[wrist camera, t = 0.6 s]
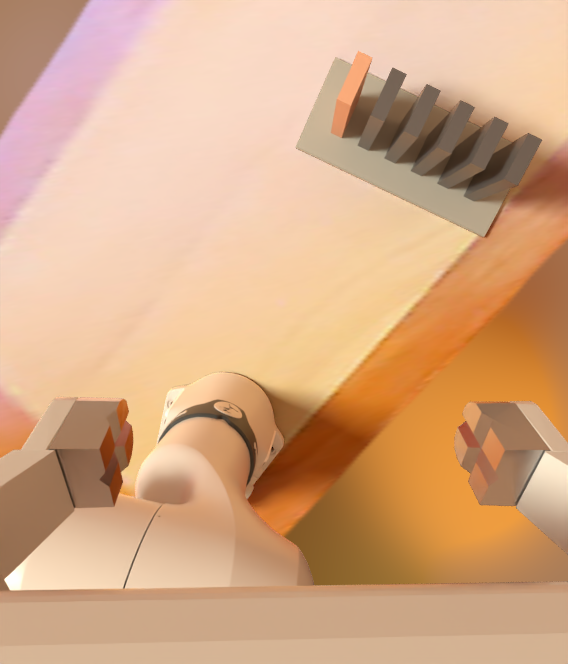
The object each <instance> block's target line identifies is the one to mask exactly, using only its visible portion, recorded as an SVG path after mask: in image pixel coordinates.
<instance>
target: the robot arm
mask: <svg viewBox="0 0 568 664" xmlns="http://www.w3.org/2000/svg"><path fill="white" fill-rule="evenodd" d="M172 401H173V403H172ZM128 413H129V410H128V406H127V402H126V400H124V399H122V398H90V397H80V398H77V397H57V398H55V399H54V400H52V401H51V403H50V405H49V406H48V408H47V409H46V411H45V413H44V414H43V416H42V417H41V419H40V420H39V422H38V424H37V425H36V427H35V428H34V430H33V431H32V433H31V435H30V436H29V438H28V439H27V441H26V442H25V444H24V446H23V447H22V449H21V450H13V451H11V452H10V453H8V454H6V455H5V456H3V457H2V458H0V664H568V582H510V583H509V582H508V583H507V582H506V583H444V584H386V585H330V586H329V585H326V586H325V585H324V586H314V582H313V578H312V575H311V572H310V569H309V566H308V564H307V562H306V560H305V558H304V556H303V554H302V552H301V551H300V550H299V548H298V546H296V545H295V544H293V543H292V542H290V541H289V540H287V539H286V538H284V537H283V536H281V535H280V534H279V533H277V532H276V531H275V530H273V529H272V528H271V527H270V526H269V525H268V524H266V523H265V522H264V521H263V520H262V519H261V517H260V516H259V515H258V514H257V513H256V512H255V510H254V509H253V508H252V506H251V505H250V503H249V502H248V500H247V499H248V498H249V496H250V495H251V493H252V491H253V489H254V486H253V485H254V483H255V482H256V481H257V480H258V478H259V477H260V476H261V474H262V473H263V472H264V471H265V469H266V468H267V467H268V465H269V464H270V463H271V462H272V460H273V459H274V458H275V456H276V455H277V454H278V453H279V451H280V450H281V449H282V447H283V445H284V438H283V436H282V434H281V432H280V431H279V429H278V428H277V426H276V424H275V420H274V414H273V409H272V406H271V403H270V401H269V399H268V397H267V395H266V394H265V393H264V391H263V390H262V389H261V388H260V387H259V386H258V385H257V384H256V383H254V382H253V381H252V380H250V379H248V378H246V377H244V376H242V375H239V374H235V373H228V372H220V373H213V374H210V375H207V376H204V377H202V378H200V379H199V380H197V381H195V382H194V383H192V384H190V385H184V386H178V387H174V388H172V389H170V390H169V392H168V394H167V396H166V401H165V406H164V411H163V416H162V421H161V426H160V431H159V436H158V440H157V445H156V447H155V448H154V449H153V450H152V452H151V453H150V454H149V455H148V457H147V458H146V459H145V460H144V462H143V463H142V465H141V467H140V470H139V472H138V475H137V479H136V484H135V496H136V497H132V496H128V495H123V494H119V492H120V489H121V486H122V483H123V480H122V475H121V471H123V470H124V469H125V468H126V467H128V465H129V462H130V459H131V456H132V449H133V431H132V426H131V425H130V424H129V423H128V422H127V421H126V418H127V415H128ZM463 416H464V418H465V420H466V421H465V422H464V423H463V424H462V425H460V426H459V427H458V428H457V432H456V435H455V452H456V456H457V459H458V461H459V463H460V465H461V466H462V467H463V468H464V469H466V470H467V471H468V472H469V473H471V475H470V478H469V481H468V482H469V484H470V486H471V488H472V490H473V492H474V494H475V496H476V498H477V500H478V502H479V504H480V505H498V506H516V508H517V509H518V510H519V511H520V512H521V513H522V514H523V515H524V516H526V517H527V518H528V519H529V520H530V521H531V522H532V523H533V524H534V525H535V526H537V527H538V528H539V529H540V530H541V531H542V532H543V533H544V534H545V535H547V536H548V537H549V538H550V539H551V540H552V541H553V542H554V543H556V544H557V545H558V546H559V547H560V548H561V549H562V550H563V551H564V552H566V553H567V554H568V443H567V442H566V441H565V439H564V438H563V437H562V435H561V434H560V433H559V432H558V430H557V429H556V428H555V427H554V425H553V424H552V423H551V422H550V421H549V419H548V418H547V417H546V415H545V414H544V413H543V412H542V411H541V409H540V408H539V407H538V406H537V405H536V404H535V403H533V402H531V401H516V402H515V401H513V402H512V401H511V402H469V403H468V404H467V405H466V406H465V409H464V411H463ZM272 447H273V448H274V449H273V450H271V448H272Z"/></svg>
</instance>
